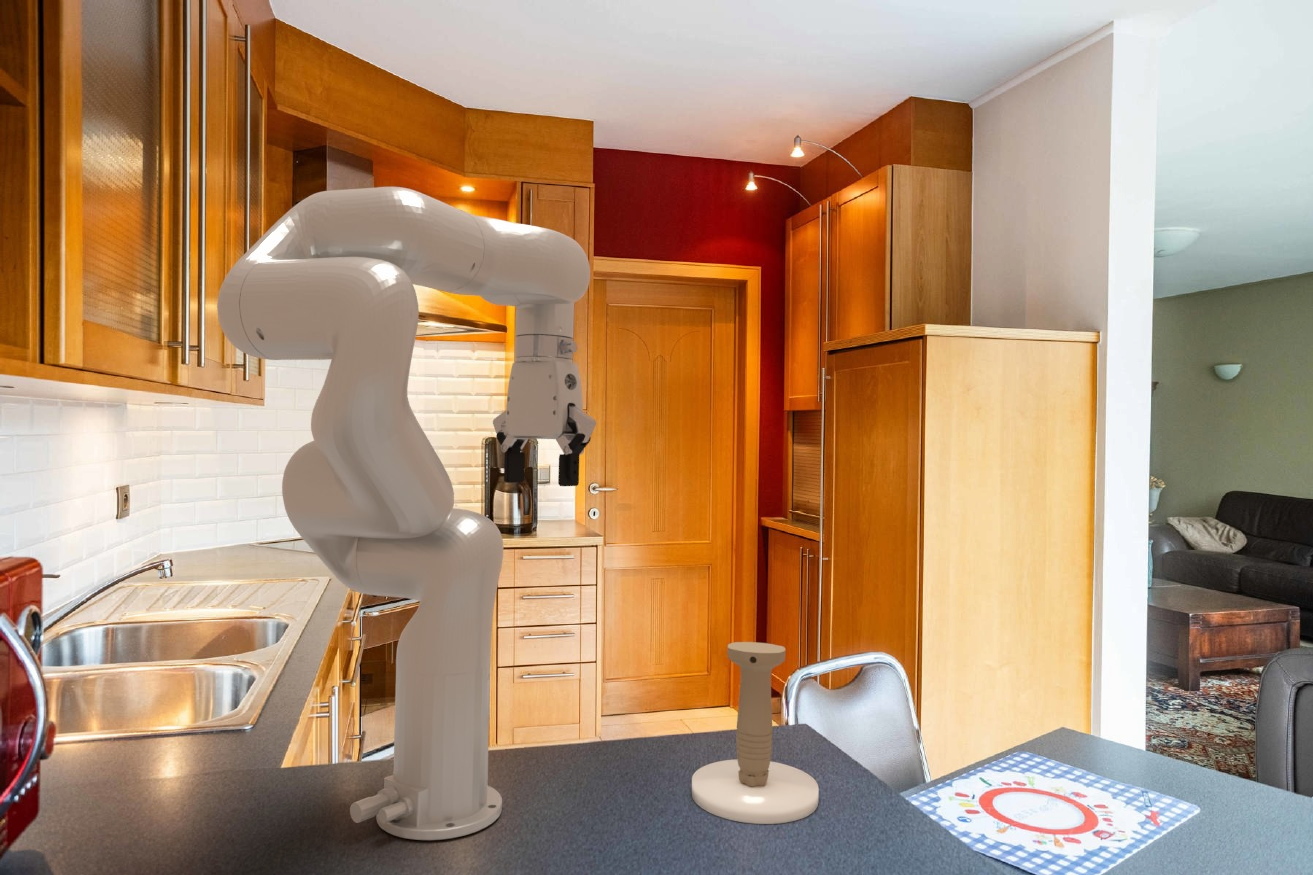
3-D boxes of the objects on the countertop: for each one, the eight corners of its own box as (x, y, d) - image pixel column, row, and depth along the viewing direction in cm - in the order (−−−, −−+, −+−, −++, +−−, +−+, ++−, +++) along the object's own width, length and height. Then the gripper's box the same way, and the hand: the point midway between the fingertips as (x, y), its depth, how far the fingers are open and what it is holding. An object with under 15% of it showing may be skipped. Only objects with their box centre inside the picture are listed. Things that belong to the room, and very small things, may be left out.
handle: (779, 794, 92) (782, 654, 92) (720, 786, 94) (724, 649, 94) (784, 777, 97) (787, 644, 97) (728, 770, 98) (731, 640, 98)
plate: (780, 836, 85) (781, 821, 85) (666, 799, 94) (667, 785, 94) (839, 792, 97) (839, 779, 97) (732, 762, 105) (733, 750, 105)
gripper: (613, 352, 109) (610, 486, 109) (517, 358, 119) (514, 480, 119) (574, 346, 103) (571, 488, 103) (476, 352, 113) (473, 481, 113)
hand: (540, 483), depth 111 cm, fingers open, 9 cm apart
